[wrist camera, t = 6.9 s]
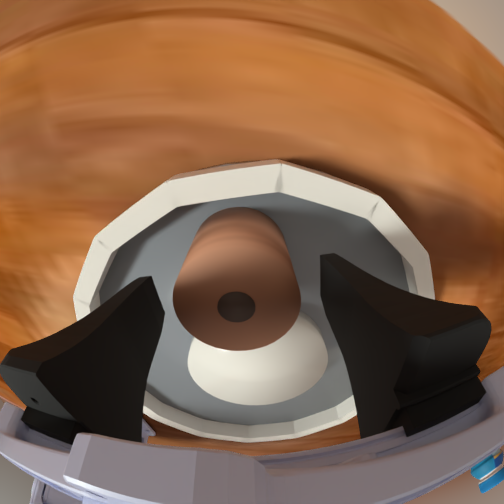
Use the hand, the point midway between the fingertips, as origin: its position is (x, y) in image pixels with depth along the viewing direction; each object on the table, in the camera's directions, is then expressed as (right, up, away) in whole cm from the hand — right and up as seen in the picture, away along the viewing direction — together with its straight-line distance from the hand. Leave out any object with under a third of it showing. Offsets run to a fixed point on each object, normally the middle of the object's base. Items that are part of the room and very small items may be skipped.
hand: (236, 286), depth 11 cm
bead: (0, +1, +3) cm, 3 cm away
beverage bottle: (+48, -35, +23) cm, 64 cm away
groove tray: (+1, -5, +7) cm, 9 cm away
